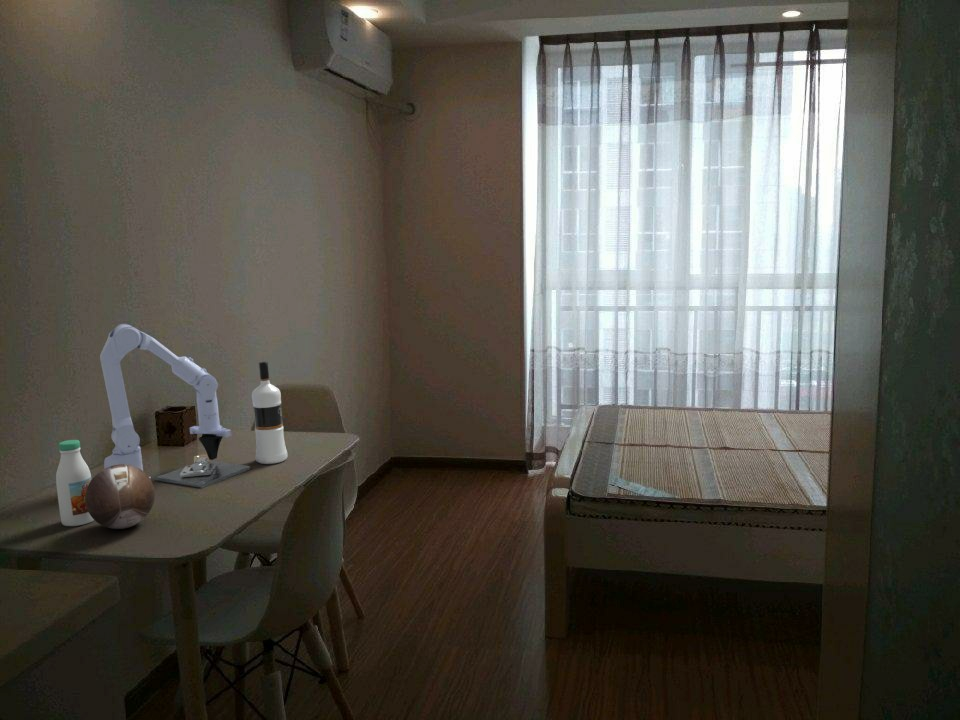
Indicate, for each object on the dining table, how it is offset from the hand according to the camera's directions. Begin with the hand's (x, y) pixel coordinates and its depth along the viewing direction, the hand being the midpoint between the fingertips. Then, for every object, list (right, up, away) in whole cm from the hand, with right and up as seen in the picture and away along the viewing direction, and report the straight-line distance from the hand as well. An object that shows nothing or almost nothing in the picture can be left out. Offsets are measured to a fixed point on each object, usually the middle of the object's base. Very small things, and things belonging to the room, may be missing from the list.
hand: (213, 458), depth 241 cm
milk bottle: (-19, -10, -42) cm, 47 cm away
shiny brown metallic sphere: (-6, -11, -47) cm, 49 cm away
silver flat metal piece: (-2, -2, -6) cm, 6 cm away
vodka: (+16, -1, +4) cm, 17 cm away
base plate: (0, -4, -8) cm, 9 cm away
